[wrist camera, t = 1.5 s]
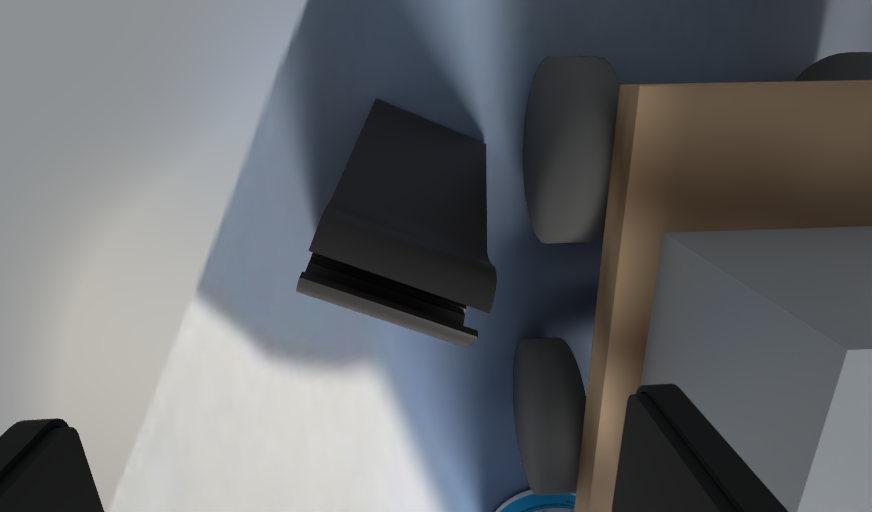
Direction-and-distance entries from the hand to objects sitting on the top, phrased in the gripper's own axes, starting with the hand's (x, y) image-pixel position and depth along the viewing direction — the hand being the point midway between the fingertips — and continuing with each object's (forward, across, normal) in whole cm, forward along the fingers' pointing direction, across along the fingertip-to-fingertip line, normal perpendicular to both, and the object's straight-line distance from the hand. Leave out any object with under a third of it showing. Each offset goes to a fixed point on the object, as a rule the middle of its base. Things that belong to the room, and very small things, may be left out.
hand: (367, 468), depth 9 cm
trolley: (+19, -15, +4) cm, 24 cm away
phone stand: (+20, -1, 0) cm, 20 cm away
